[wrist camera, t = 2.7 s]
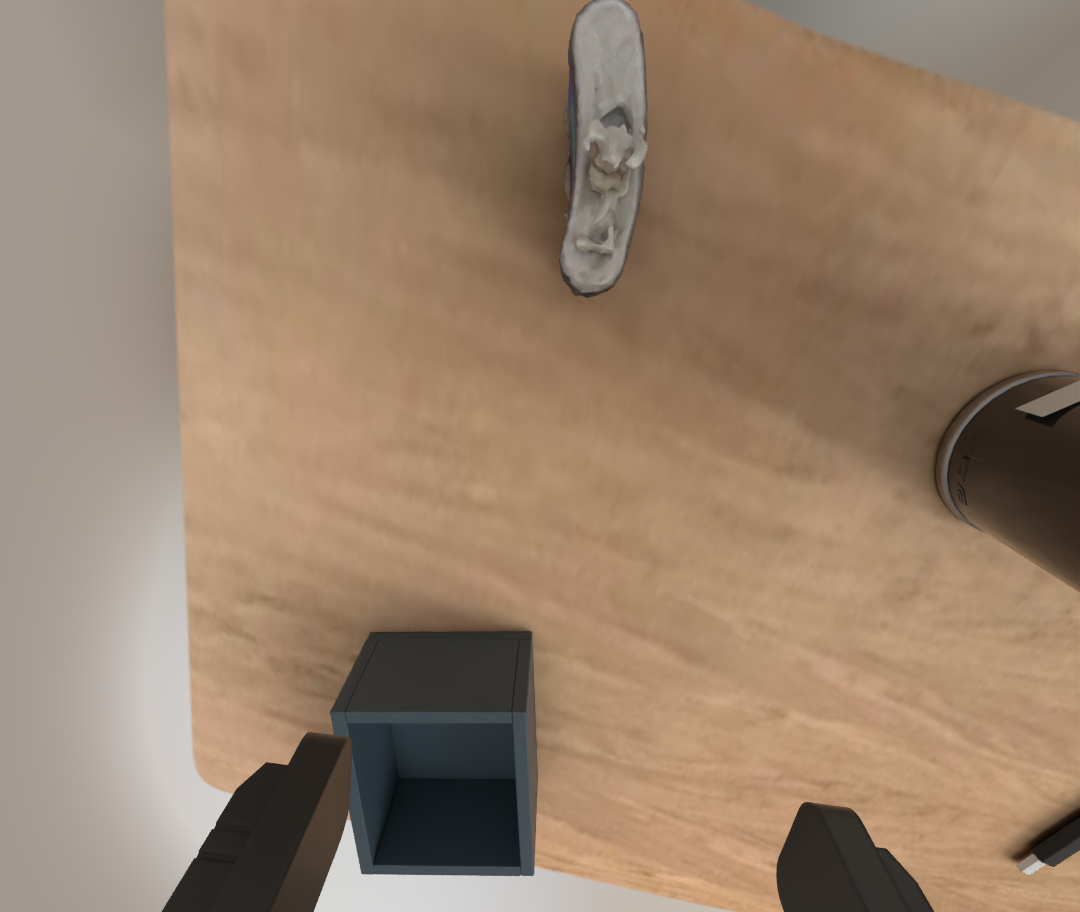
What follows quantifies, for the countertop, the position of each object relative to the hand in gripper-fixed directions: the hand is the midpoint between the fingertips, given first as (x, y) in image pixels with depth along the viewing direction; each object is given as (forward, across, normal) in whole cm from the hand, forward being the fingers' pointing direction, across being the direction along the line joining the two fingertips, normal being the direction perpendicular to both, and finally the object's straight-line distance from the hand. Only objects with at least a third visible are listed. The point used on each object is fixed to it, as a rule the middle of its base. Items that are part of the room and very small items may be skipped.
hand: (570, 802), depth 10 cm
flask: (+23, +1, -12) cm, 26 cm away
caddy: (+22, +4, +21) cm, 31 cm away
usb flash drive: (+21, -41, +24) cm, 52 cm away
